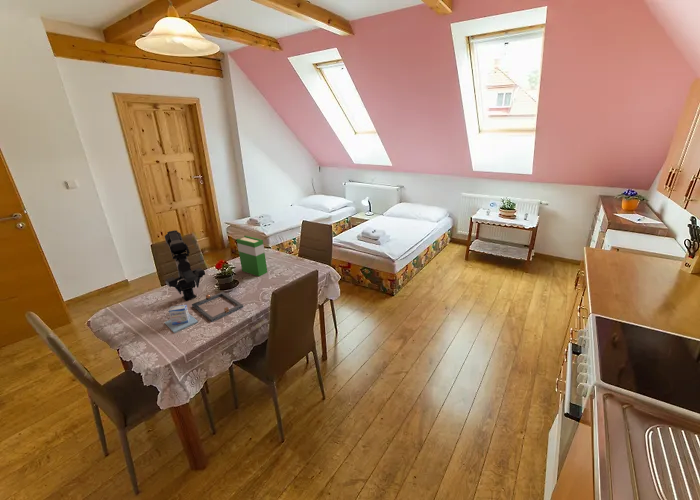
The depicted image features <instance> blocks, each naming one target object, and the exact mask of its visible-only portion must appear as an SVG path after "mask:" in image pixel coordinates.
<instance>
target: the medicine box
mask: <svg viewBox="0 0 700 500" xmlns="http://www.w3.org/2000/svg"><path fill="white" fill-rule="evenodd" d="M167 312H168V314H169V318H170V319H169V320H171V322H172V325H176V324H182V323H187V322H189V319H190V316H189V314H190V312H189V310H188V305H187V304H181V305H174V306H170V307H169V309H168V311H167Z"/></svg>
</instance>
